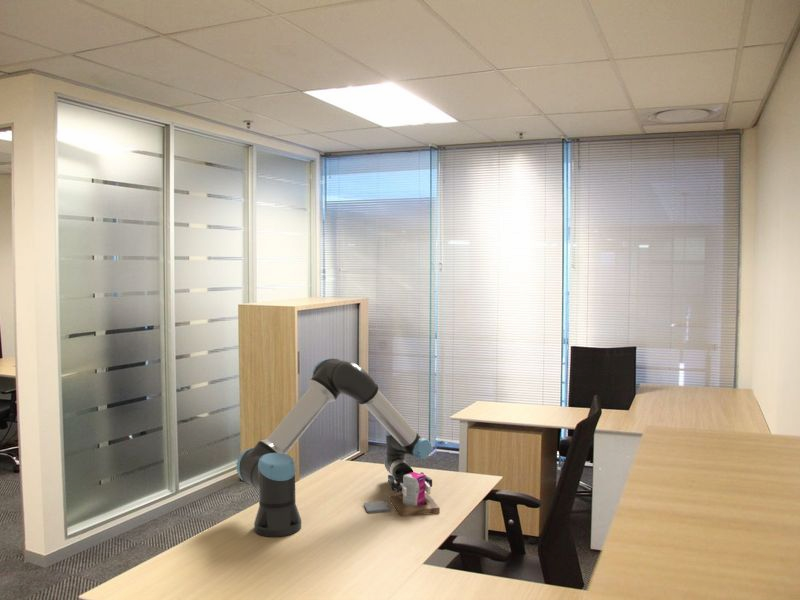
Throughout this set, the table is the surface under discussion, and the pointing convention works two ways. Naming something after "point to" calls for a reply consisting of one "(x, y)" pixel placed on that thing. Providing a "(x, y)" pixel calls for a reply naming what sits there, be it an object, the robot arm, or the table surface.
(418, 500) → the supplement box
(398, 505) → the board
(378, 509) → the coaster
